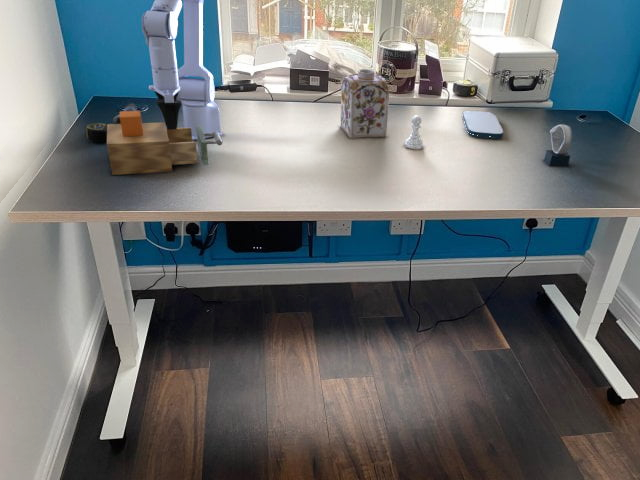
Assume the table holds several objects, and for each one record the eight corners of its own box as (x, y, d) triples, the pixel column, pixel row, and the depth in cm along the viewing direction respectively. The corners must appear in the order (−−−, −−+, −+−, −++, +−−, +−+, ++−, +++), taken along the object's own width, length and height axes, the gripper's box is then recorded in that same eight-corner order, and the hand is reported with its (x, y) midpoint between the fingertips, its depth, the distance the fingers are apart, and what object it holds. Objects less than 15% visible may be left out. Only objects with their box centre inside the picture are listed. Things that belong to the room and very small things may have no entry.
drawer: (218, 145, 162) (216, 124, 158) (225, 163, 151) (223, 141, 148) (152, 149, 156) (149, 127, 153) (155, 168, 146) (152, 144, 142)
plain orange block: (142, 129, 148) (140, 110, 146) (143, 135, 145) (140, 116, 142) (122, 130, 147) (119, 111, 144) (122, 136, 143) (119, 117, 141)
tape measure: (114, 143, 159) (111, 130, 157) (85, 144, 157) (83, 130, 155) (115, 135, 165) (113, 121, 163) (88, 136, 163) (85, 122, 161)
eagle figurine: (147, 128, 168) (144, 113, 174) (130, 109, 163) (126, 94, 168) (125, 143, 168) (122, 127, 174) (107, 124, 163) (104, 109, 169)
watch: (559, 158, 177) (568, 121, 171) (570, 168, 170) (579, 130, 164) (541, 157, 176) (549, 120, 170) (551, 168, 169) (560, 129, 163)
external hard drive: (504, 140, 187) (505, 134, 186) (467, 137, 186) (468, 131, 185) (493, 118, 207) (494, 112, 206) (460, 115, 206) (461, 109, 205)
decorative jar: (375, 125, 190) (379, 66, 181) (387, 137, 181) (392, 75, 171) (338, 126, 187) (341, 66, 177) (349, 138, 177) (351, 75, 168)
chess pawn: (406, 142, 178) (409, 112, 173) (423, 145, 178) (426, 114, 173) (403, 148, 174) (406, 117, 169) (420, 150, 173) (424, 119, 169)
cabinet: (168, 150, 158) (164, 122, 154) (172, 171, 147) (168, 141, 143) (112, 153, 154) (107, 124, 150) (112, 175, 142) (106, 144, 138)
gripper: (145, 59, 145) (152, 115, 152) (147, 74, 134) (155, 134, 141) (175, 59, 147) (181, 114, 155) (180, 74, 136) (186, 133, 143)
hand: (171, 124), depth 148 cm, fingers open, 7 cm apart
